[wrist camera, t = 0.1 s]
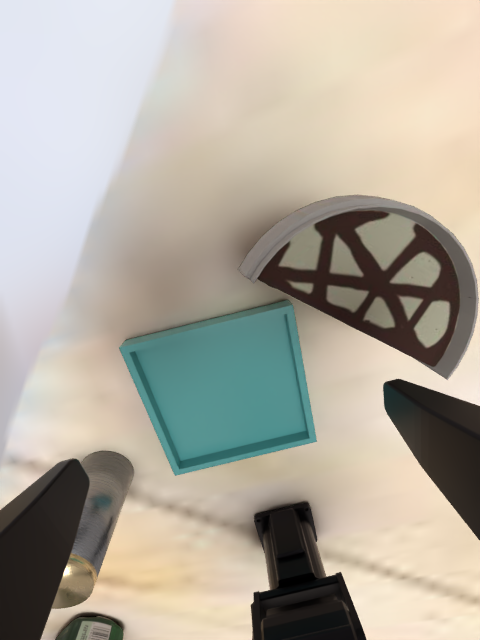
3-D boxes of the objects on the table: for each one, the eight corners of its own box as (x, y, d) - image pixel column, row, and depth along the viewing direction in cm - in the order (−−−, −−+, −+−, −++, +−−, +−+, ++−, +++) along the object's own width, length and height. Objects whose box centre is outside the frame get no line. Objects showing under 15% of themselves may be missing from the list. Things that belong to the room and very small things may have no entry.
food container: (401, 255, 21) (547, 275, 12) (358, 320, 23) (455, 384, 13) (270, 175, 19) (320, 120, 9) (231, 254, 20) (240, 277, 11)
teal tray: (311, 430, 26) (316, 441, 25) (177, 462, 27) (174, 475, 25) (288, 299, 22) (292, 304, 20) (125, 340, 22) (119, 347, 20)
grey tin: (141, 483, 27) (105, 598, 19) (93, 494, 27) (35, 615, 19) (122, 445, 25) (72, 554, 17) (70, 458, 25) (-4, 572, 17)
